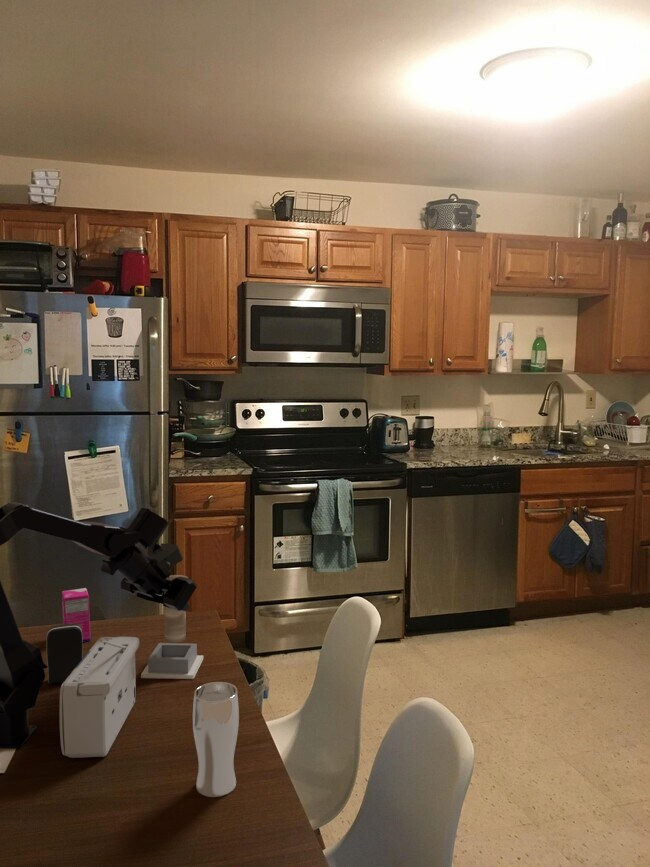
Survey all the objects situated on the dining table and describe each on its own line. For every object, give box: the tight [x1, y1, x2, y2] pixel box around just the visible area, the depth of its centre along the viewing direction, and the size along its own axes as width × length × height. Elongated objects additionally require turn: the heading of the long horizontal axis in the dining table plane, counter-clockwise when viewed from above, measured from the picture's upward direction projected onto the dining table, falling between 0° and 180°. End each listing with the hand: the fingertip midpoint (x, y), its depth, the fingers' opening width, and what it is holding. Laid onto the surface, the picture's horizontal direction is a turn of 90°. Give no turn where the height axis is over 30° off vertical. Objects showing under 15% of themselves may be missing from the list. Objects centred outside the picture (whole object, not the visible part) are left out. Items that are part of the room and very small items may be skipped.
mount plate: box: [140, 642, 204, 680], centre depth 144 cm, size 10×11×4 cm
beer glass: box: [192, 681, 240, 798], centre depth 102 cm, size 7×7×15 cm
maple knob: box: [163, 574, 189, 643], centre depth 142 cm, size 6×6×13 cm
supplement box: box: [61, 587, 92, 643], centre depth 159 cm, size 6×6×12 cm
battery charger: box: [45, 623, 84, 685], centre depth 138 cm, size 7×4×11 cm, turn 112°
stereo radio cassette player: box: [59, 636, 140, 759], centre depth 118 cm, size 21×8×20 cm, turn 1°
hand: (180, 606), depth 143 cm, fingers closed on maple knob, 5 cm apart
